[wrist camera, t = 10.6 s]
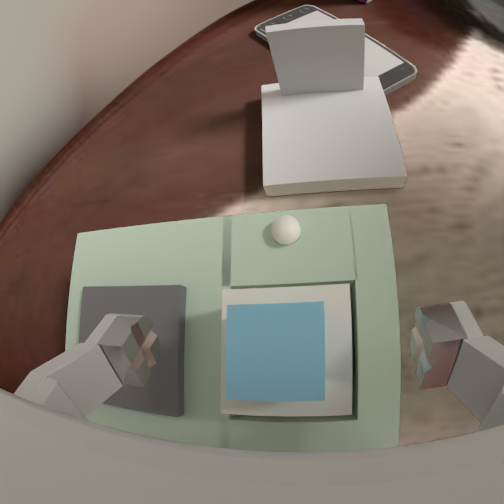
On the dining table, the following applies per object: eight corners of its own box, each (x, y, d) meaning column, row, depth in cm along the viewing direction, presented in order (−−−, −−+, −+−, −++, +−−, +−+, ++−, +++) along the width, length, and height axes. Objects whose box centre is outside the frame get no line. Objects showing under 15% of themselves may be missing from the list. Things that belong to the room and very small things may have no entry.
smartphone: (308, 3, 26) (421, 70, 21) (309, 10, 27) (419, 79, 22) (251, 28, 27) (360, 104, 21) (253, 35, 28) (359, 114, 22)
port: (371, 246, 19) (388, 197, 12) (375, 447, 15) (396, 491, 9) (132, 261, 22) (71, 229, 16) (126, 430, 19) (60, 447, 12)
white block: (341, 386, 16) (357, 430, 6) (267, 387, 17) (195, 425, 7) (340, 313, 17) (354, 266, 8) (267, 316, 18) (198, 275, 9)
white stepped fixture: (403, 187, 19) (429, 112, 12) (267, 196, 21) (236, 125, 14) (377, 89, 22) (381, 13, 15) (265, 98, 24) (241, 24, 17)
